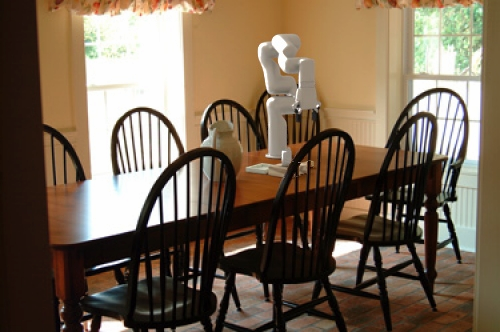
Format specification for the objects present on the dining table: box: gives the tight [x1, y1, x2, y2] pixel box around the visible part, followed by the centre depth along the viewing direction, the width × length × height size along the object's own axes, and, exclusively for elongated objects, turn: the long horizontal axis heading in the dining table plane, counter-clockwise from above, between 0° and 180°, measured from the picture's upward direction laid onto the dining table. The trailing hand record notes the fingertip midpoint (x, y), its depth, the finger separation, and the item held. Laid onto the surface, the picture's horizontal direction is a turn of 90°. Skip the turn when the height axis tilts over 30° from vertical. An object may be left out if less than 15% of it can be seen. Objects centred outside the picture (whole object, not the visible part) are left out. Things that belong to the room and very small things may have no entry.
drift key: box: [302, 160, 315, 167], centre depth 354 cm, size 12×2×3 cm, turn 143°
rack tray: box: [245, 163, 274, 175], centre depth 351 cm, size 13×11×2 cm
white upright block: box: [281, 150, 293, 167], centre depth 341 cm, size 4×4×11 cm
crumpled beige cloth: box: [268, 162, 308, 178], centre depth 343 cm, size 16×12×4 cm
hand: (306, 121), depth 351 cm, fingers open, 9 cm apart
